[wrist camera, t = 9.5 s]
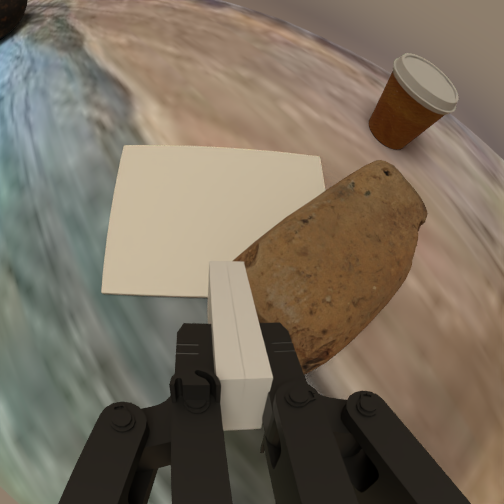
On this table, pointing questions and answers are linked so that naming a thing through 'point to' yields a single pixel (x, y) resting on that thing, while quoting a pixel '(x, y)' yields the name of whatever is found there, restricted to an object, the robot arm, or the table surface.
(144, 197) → the mat
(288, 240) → the block
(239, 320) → the robot arm
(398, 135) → the disposable coffee cup
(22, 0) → the glass bottle
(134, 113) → the table surface
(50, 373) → the table surface
